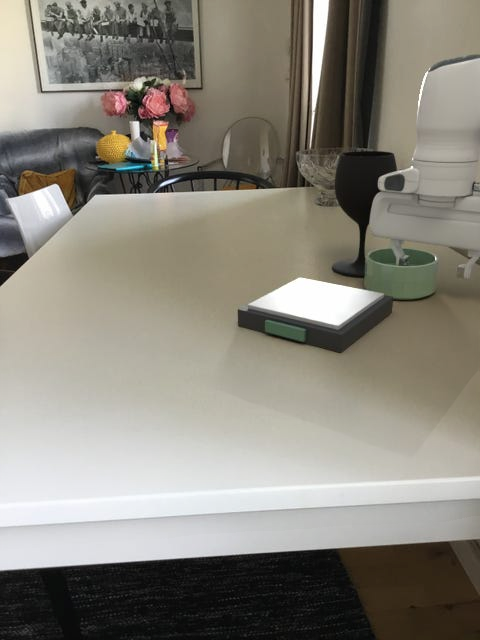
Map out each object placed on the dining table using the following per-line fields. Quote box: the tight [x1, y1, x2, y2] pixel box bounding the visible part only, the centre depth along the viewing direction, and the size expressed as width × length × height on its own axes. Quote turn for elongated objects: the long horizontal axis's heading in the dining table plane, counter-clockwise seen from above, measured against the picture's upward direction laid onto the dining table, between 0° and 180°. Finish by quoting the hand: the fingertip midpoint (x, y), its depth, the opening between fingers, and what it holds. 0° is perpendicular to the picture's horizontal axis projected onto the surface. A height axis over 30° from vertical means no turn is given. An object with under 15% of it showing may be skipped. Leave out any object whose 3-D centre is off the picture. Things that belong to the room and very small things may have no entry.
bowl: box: [363, 247, 439, 301], centre depth 90 cm, size 11×11×6 cm
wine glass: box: [331, 150, 398, 279], centre depth 98 cm, size 10×10×20 cm
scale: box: [237, 277, 394, 354], centre depth 80 cm, size 16×17×3 cm
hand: (431, 272), depth 86 cm, fingers open, 8 cm apart
